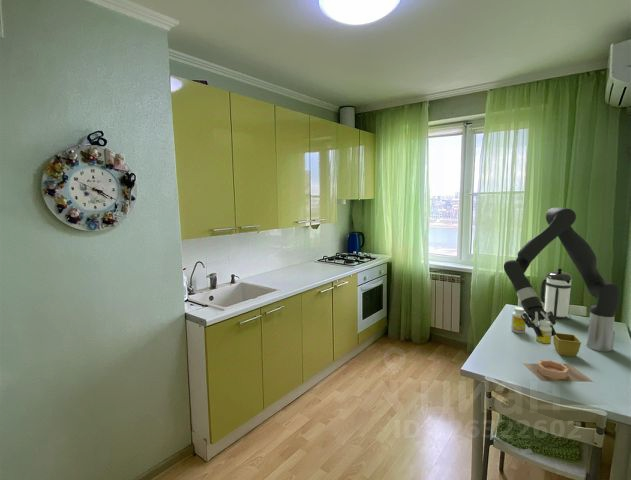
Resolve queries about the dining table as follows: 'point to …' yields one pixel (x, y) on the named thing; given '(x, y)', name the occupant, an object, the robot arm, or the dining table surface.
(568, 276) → the coffee press
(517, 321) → the supplement bottle
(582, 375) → the walnut board
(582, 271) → the robot arm
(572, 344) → the flower pot
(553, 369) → the octagonal planter bowl
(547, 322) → the supplement bottle
